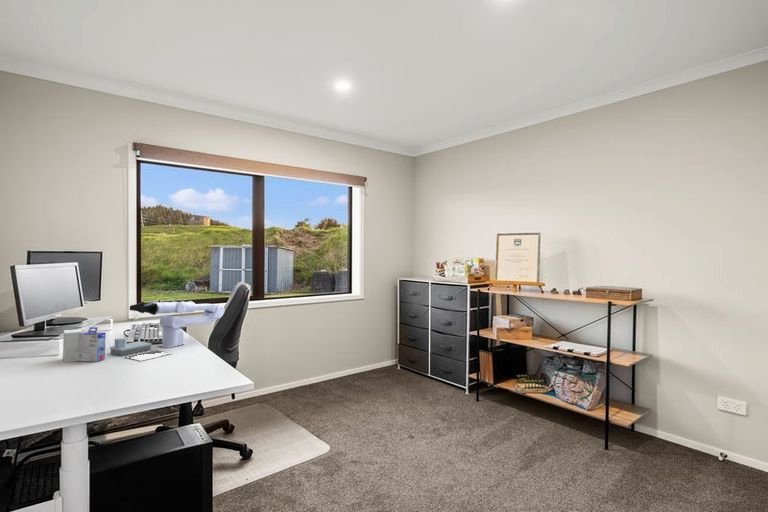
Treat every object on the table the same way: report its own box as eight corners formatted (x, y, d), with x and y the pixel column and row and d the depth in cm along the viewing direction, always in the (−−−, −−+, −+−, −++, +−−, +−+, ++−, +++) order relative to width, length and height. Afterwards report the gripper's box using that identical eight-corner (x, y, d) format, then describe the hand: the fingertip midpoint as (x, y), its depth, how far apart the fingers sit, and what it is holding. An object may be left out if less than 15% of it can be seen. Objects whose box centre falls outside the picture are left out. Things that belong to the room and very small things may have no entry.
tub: (139, 347, 207) (139, 342, 207) (150, 350, 203) (150, 345, 203) (110, 353, 194) (110, 348, 194) (121, 356, 190) (122, 350, 190)
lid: (139, 342, 207) (139, 333, 207) (151, 345, 203) (151, 335, 203) (109, 348, 194) (109, 338, 194) (121, 351, 190) (122, 340, 190)
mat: (157, 350, 202) (157, 350, 202) (172, 354, 197) (172, 353, 197) (124, 357, 188) (124, 357, 188) (140, 361, 183) (140, 360, 183)
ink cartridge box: (106, 358, 185) (106, 327, 185) (97, 362, 180) (97, 329, 180) (84, 358, 185) (85, 326, 185) (75, 361, 180) (75, 328, 180)
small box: (81, 360, 181) (82, 331, 181) (63, 363, 177) (64, 333, 177) (80, 356, 187) (81, 328, 187) (62, 358, 183) (63, 330, 183)
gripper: (153, 298, 211) (126, 299, 199) (171, 301, 205) (145, 301, 193) (151, 312, 211) (125, 313, 199) (169, 315, 204) (143, 316, 192)
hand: (135, 308), depth 196 cm, fingers open, 7 cm apart
